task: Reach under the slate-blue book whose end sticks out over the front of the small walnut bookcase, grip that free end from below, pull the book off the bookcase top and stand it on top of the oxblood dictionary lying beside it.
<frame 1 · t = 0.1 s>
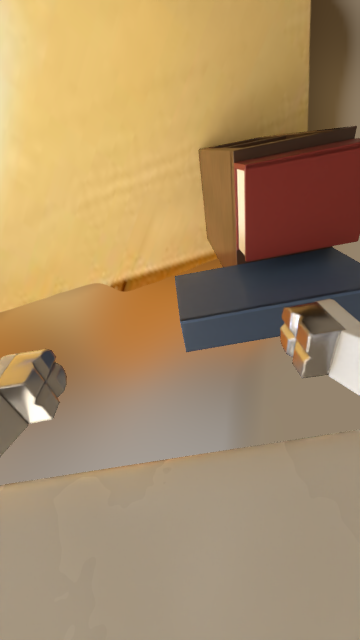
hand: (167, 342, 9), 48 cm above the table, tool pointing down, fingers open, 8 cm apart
bookcase: (232, 192, 50), on the table
dictionary: (289, 199, 27), resting on bookcase
slate book: (252, 276, 32), point 26 cm above the table, touching bookcase
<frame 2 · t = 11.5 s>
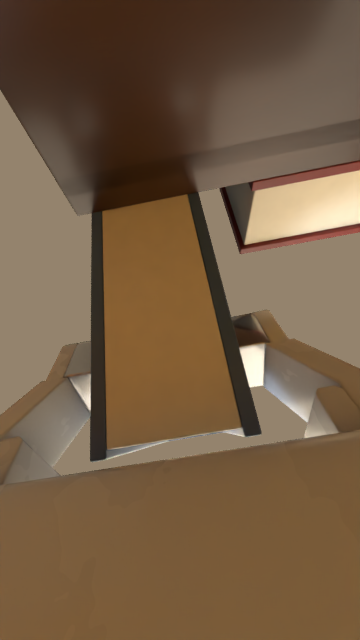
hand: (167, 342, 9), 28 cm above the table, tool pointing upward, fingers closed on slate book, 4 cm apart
dictionary: (316, 75, 11), resting on bookcase
slate book: (140, 168, 10), point 26 cm above the table, touching bookcase, gripper
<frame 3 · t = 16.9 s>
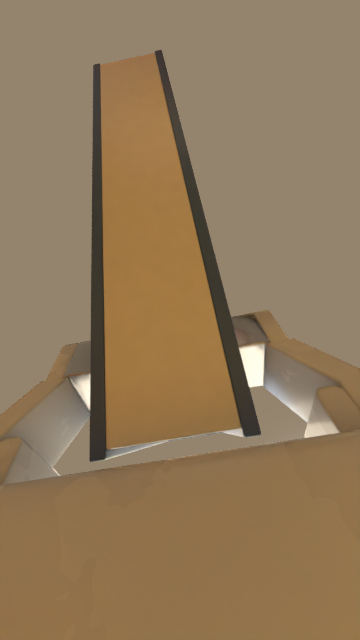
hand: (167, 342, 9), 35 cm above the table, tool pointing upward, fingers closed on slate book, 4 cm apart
slate book: (140, 168, 10), point 33 cm above the table, touching gripper
when the fingers open (32 cm above the table, at t = 22.3 s): slate book stays where it is, resting on dictionary.
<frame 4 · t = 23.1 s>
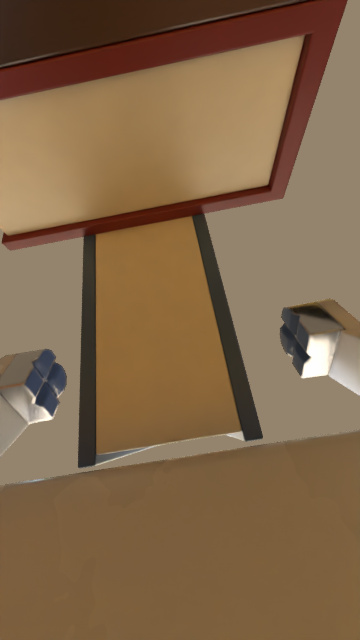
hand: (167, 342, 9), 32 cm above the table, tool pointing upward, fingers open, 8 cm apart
slate book: (135, 159, 9), point 30 cm above the table, touching dictionary
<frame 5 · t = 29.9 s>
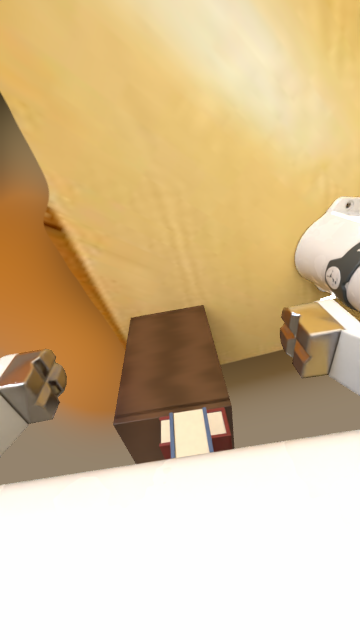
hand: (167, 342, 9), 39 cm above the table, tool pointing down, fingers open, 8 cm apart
bookcase: (171, 332, 58), on the table
dictionary: (196, 435, 37), resting on bookcase
slate book: (198, 454, 32), point 30 cm above the table, touching dictionary
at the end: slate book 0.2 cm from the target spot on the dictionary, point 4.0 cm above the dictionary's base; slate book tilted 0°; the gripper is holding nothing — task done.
